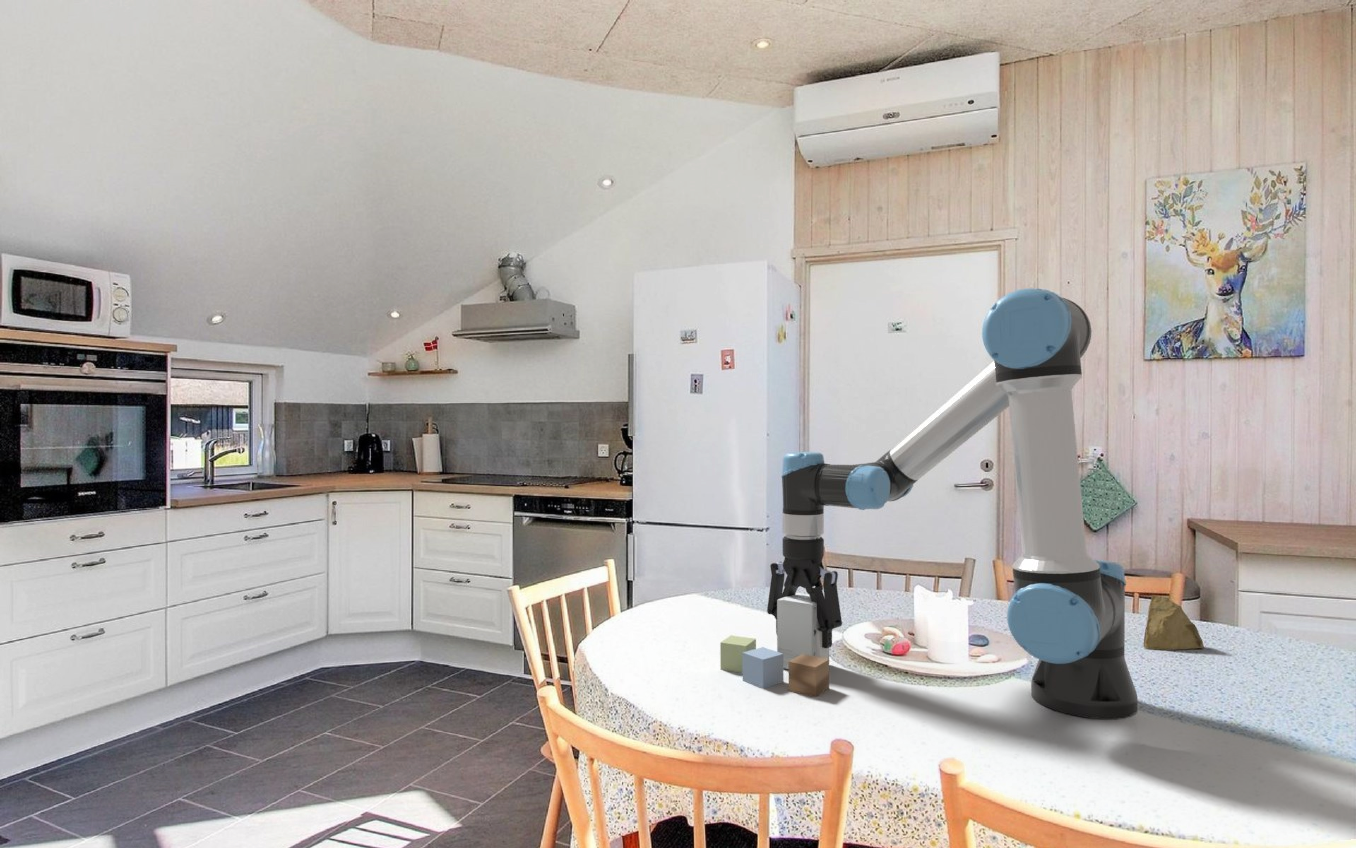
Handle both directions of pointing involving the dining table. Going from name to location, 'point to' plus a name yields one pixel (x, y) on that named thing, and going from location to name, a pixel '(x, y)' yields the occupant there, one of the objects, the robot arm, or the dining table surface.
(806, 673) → the walnut cube
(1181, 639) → the rock
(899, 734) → the dining table surface
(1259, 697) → the dining table surface
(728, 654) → the olive cube
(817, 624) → the supplement box
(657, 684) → the dining table surface
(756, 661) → the slate blue cube
